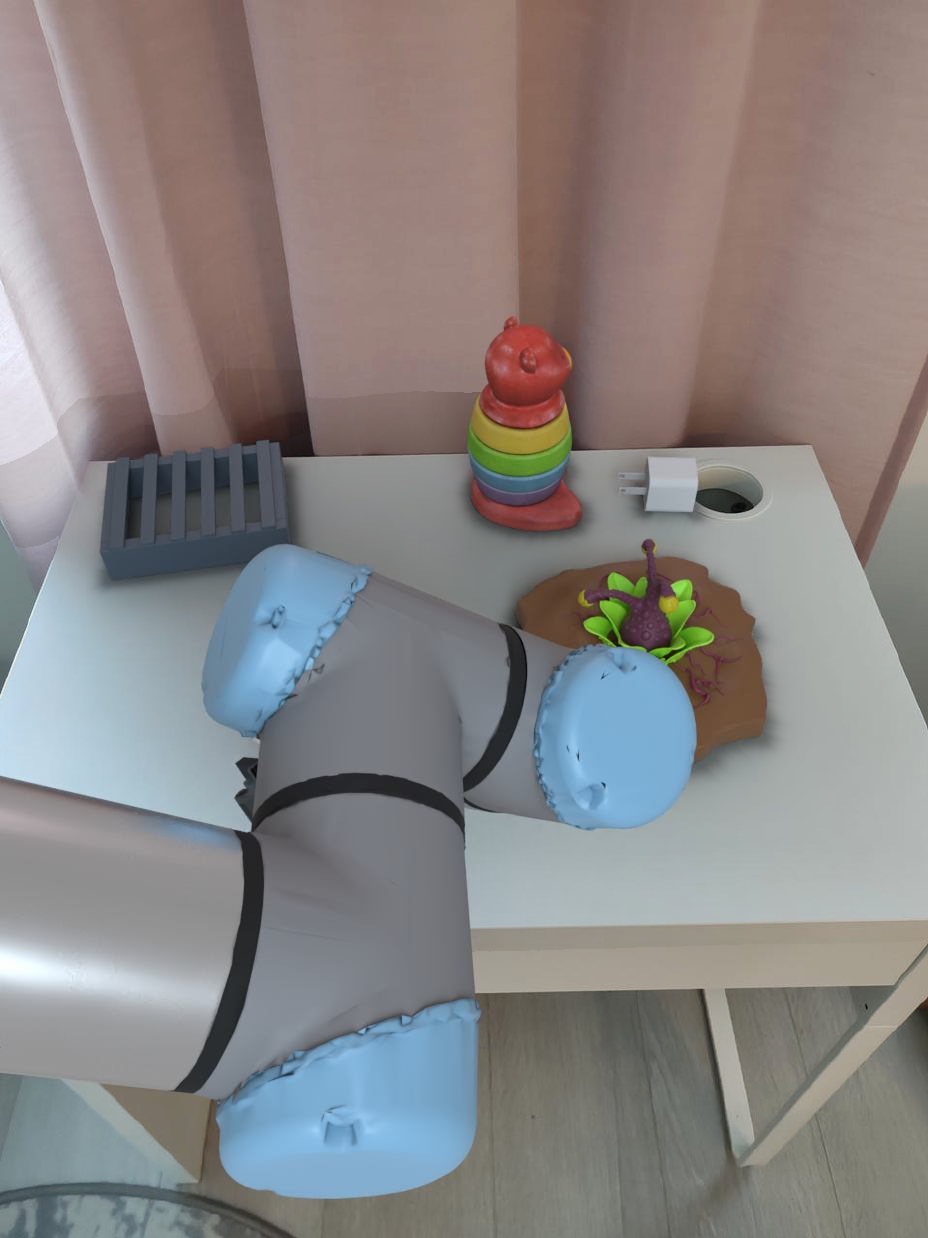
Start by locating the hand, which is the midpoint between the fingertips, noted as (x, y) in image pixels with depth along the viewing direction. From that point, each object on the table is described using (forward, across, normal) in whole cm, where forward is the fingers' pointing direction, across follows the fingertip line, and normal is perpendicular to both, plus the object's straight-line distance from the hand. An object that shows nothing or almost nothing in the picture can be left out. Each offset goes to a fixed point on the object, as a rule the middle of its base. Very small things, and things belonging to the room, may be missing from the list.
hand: (306, 732), depth 72 cm
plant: (-5, +24, -11) cm, 28 cm away
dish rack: (+23, +10, +17) cm, 30 cm away
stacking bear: (+9, +33, +4) cm, 35 cm away
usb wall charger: (+3, +41, -3) cm, 41 cm away
